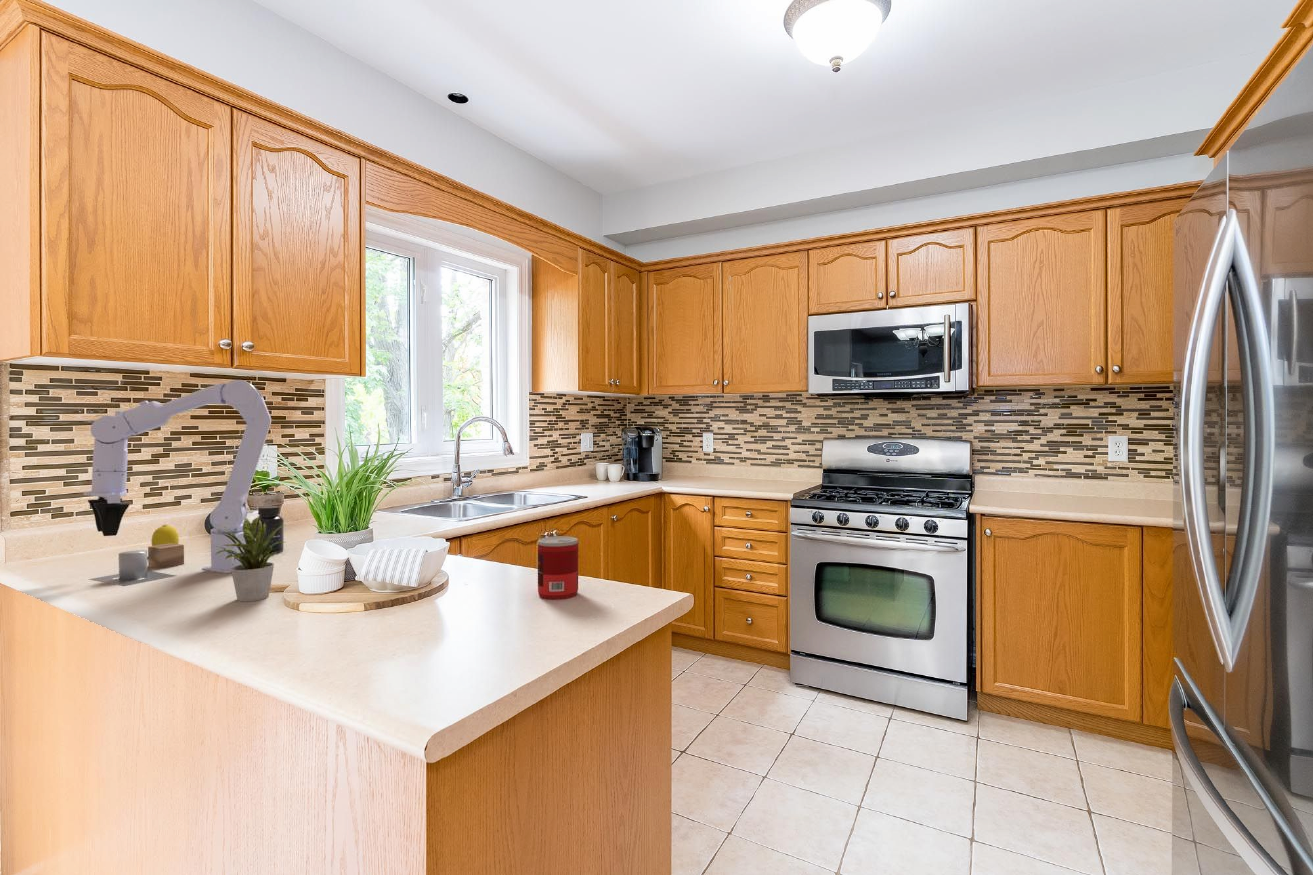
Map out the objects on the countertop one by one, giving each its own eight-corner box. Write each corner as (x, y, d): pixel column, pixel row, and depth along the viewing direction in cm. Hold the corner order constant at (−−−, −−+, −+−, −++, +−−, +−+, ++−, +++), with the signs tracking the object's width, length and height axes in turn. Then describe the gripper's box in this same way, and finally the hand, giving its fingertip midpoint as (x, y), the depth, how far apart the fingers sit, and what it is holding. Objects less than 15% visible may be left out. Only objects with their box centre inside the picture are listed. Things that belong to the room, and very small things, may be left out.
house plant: (196, 597, 122) (195, 513, 122) (276, 584, 132) (275, 507, 132) (214, 612, 112) (213, 521, 112) (299, 596, 123) (298, 513, 122)
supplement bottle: (273, 554, 162) (273, 508, 162) (247, 554, 163) (247, 508, 162) (289, 549, 169) (289, 505, 169) (264, 549, 169) (263, 505, 169)
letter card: (177, 576, 139) (177, 575, 139) (123, 587, 130) (123, 586, 130) (141, 570, 145) (141, 569, 145) (88, 580, 136) (88, 579, 136)
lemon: (184, 553, 164) (184, 523, 164) (165, 558, 159) (165, 526, 158) (165, 553, 165) (164, 522, 164) (145, 557, 159) (145, 526, 159)
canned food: (586, 594, 125) (586, 539, 124) (553, 602, 119) (553, 544, 119) (562, 587, 130) (561, 534, 130) (530, 595, 124) (529, 539, 124)
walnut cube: (184, 565, 151) (183, 544, 150) (160, 569, 146) (160, 548, 146) (172, 563, 153) (171, 543, 153) (148, 567, 148) (148, 546, 148)
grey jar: (152, 576, 139) (151, 551, 138) (126, 580, 134) (126, 555, 134) (140, 573, 141) (139, 549, 140) (114, 578, 136) (113, 553, 136)
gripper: (80, 469, 139) (77, 530, 139) (90, 473, 129) (87, 539, 129) (122, 468, 144) (119, 528, 144) (134, 473, 134) (131, 536, 134)
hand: (107, 533), depth 137 cm, fingers open, 7 cm apart
